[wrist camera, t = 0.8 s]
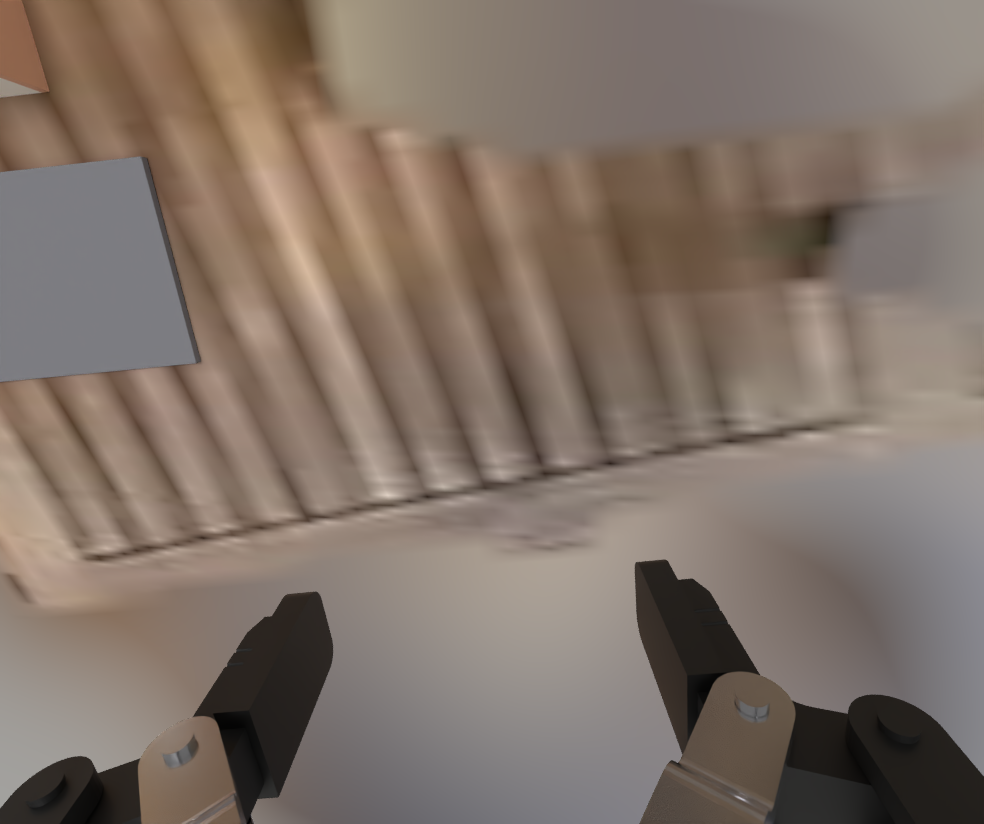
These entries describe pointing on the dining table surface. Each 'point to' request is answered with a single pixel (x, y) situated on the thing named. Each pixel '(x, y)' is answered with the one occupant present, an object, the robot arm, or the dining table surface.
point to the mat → (87, 273)
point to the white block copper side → (18, 53)
